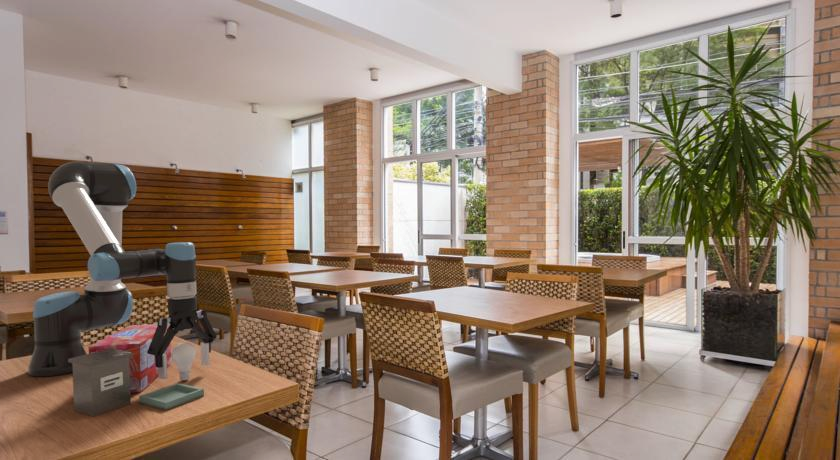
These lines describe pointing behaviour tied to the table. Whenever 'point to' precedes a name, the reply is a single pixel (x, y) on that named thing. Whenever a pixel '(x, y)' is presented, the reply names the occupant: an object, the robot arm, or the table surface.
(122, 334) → the box
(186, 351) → the lightbulb
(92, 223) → the robot arm
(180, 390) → the tray
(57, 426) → the table surface
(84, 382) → the grey lidded bin
